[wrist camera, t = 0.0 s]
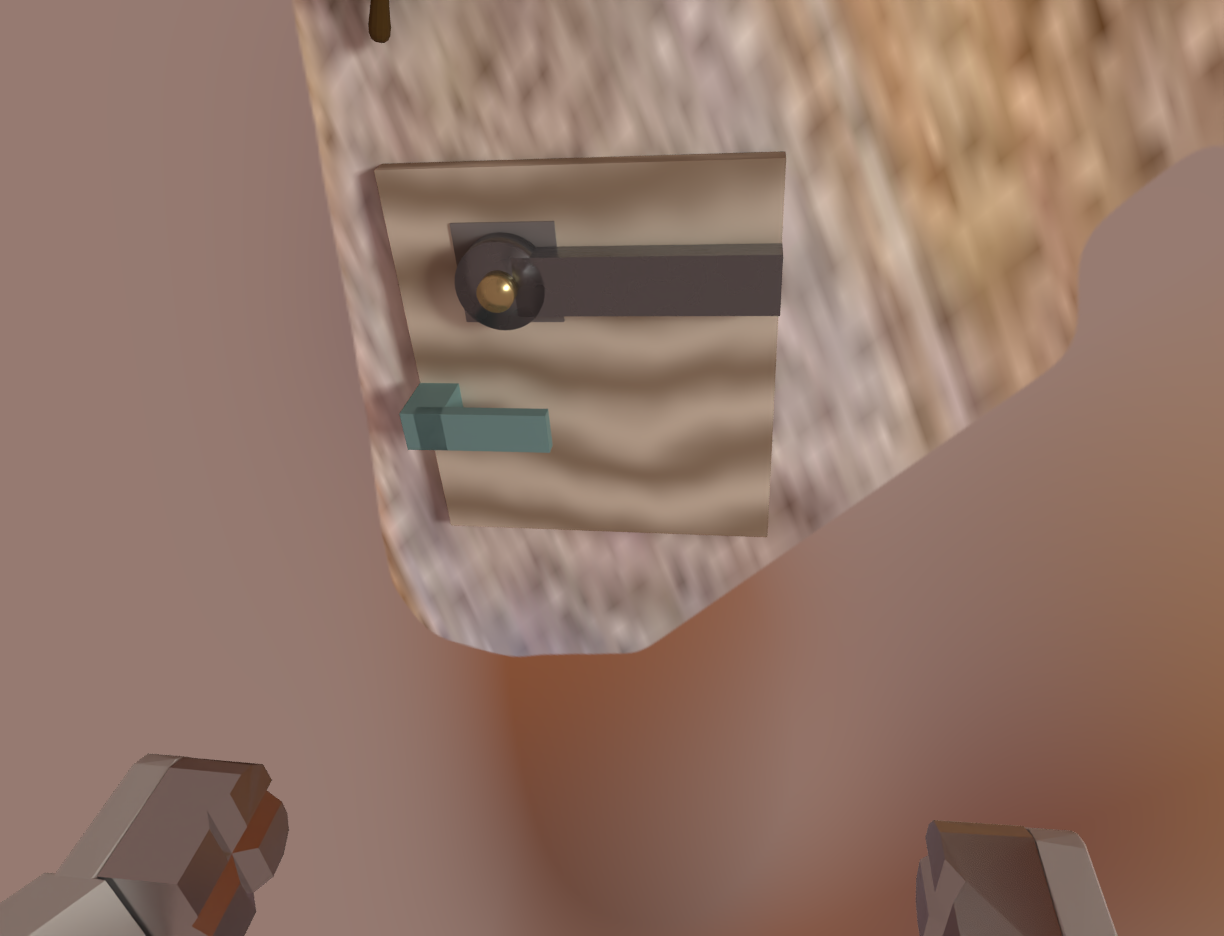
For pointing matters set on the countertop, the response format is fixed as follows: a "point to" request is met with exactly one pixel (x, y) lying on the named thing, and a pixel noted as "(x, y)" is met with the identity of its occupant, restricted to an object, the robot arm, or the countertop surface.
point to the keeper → (470, 424)
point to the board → (597, 343)
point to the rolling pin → (379, 21)
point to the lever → (615, 280)
